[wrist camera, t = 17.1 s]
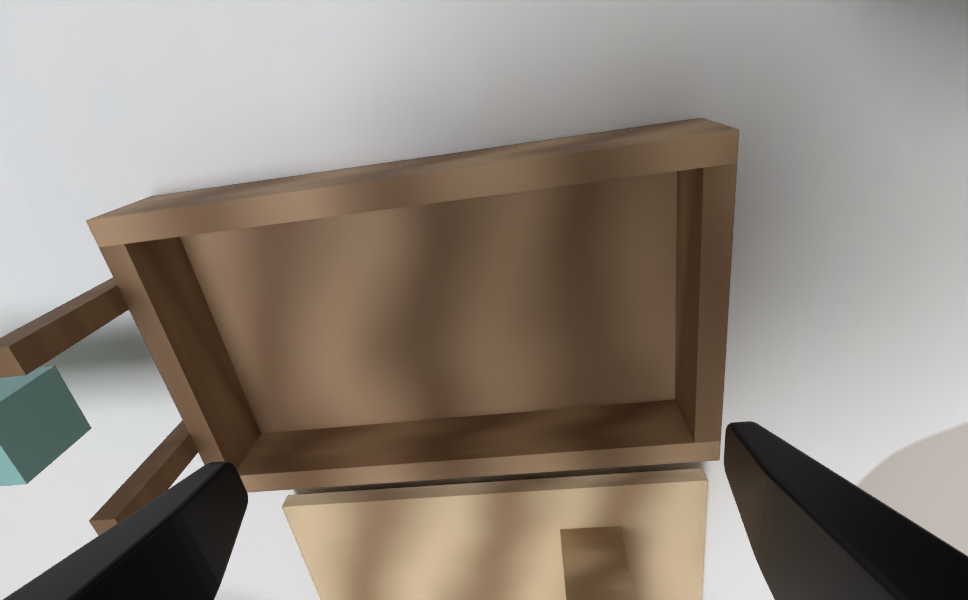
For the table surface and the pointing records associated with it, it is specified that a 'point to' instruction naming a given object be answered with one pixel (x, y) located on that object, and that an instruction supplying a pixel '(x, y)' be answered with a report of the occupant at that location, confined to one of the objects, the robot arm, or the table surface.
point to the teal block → (36, 423)
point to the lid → (509, 539)
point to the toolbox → (428, 313)
